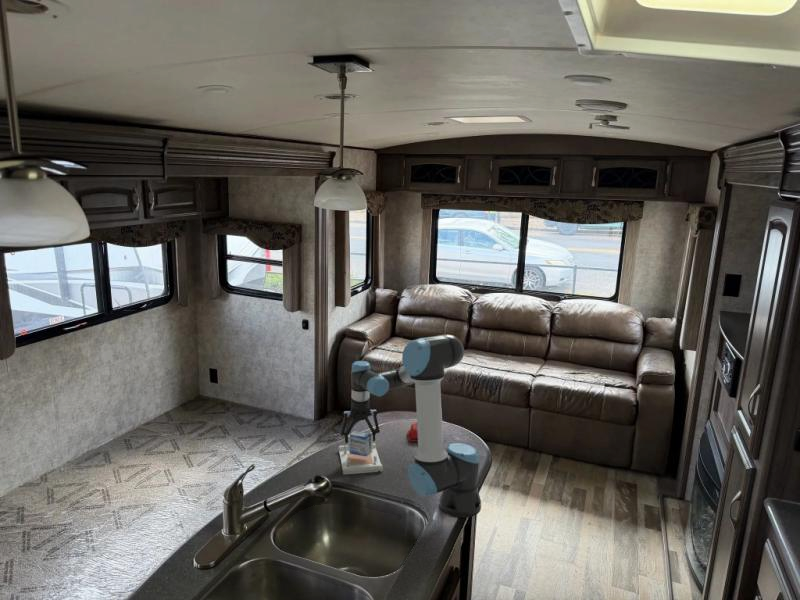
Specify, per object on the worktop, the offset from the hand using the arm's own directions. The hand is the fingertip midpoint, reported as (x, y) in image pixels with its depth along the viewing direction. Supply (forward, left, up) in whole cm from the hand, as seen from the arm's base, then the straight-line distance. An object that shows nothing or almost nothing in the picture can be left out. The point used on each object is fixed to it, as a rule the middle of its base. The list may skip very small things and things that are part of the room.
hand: (360, 448), depth 232 cm
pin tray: (0, 0, -6) cm, 6 cm away
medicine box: (0, 0, -2) cm, 2 cm away
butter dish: (+18, -30, -6) cm, 35 cm away
